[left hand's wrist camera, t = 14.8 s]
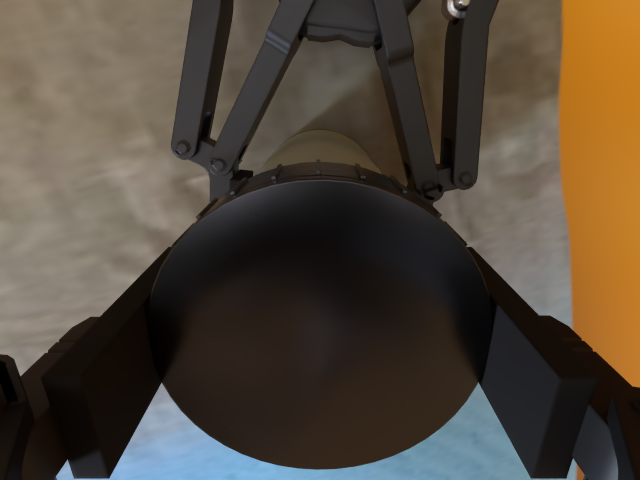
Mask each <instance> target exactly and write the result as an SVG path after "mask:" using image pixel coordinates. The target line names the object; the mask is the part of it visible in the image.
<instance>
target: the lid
mask: <svg viewBox="0 0 640 480" xmlns="http://www.w3.org/2000/svg"><path fill="white" fill-rule="evenodd" d="M441 216H442V215H441V214H440V213H439V212H438V211H437V210H436V209H435V208H434V207H433V206H432V205H431V204H430V203H429V202H428V201H427V200H426V199H425V198H424V197H423V196H421V197H419V196H417V195H416V194H415V193H413V192H412V191H411V190H409V189H408V188H406V187H405V186H404V185H402V184H400V183H399V182H398V180H397V179H396V178H395V177H393V176H391V177H390V178H389V177H387V176H385V175H383V174H380V173H377V172H374V171H372V170H369V169H366V168H362V167H360V165H359V164H358V163H355V166H353V165H349V164H344V163H333V162H321V160H320V159H317V161H316V162H306V163H297V164H292V165H286V166H282V164H278V166H277V167H276V168H274V169H271V170H268V171H265V172H262V173H260V174H257V175H255V176H253V177H251V178H249V179H247V177H245V178H243V179H242V180H241V181H240V182H239V183H238V184H237V186H235V187H234V188H232V189H231V190H229V191H228V192H226V193H225V194H224V195H223V196H221V197H220V198H219V199H217V198H214V199H213V200H212V201H211V202H210V203H209V204H208V205H207V206H206V207H205V208H204V209H203V210H202V211H201V212H200V213H199V214H198V215H197V216H196V218H197V219H198V220H197V221H196V222H195V223H193V224H192V225H191V226H190V227H189V228H188V229H187V230H186V231H185V232H184V233H183V234H182V235H181V236H180V237H179V238H178V239H177V240H176V241H175V242H174V244H173V245H172V246H171V248H172V249H171V251H170V253H169V254H168V256H167V258H166V259H165V261H164V263H163V264H162V266H161V268H160V270H159V273H158V275H157V278H156V280H155V283H154V285H153V288H152V293H151V297H150V301H149V306H148V321H147V329H148V337H149V343H150V348H151V353H152V358H153V363H154V365H155V368H156V370H157V373H158V375H159V378H160V380H161V382H162V384H163V385H164V387H165V389H166V390H167V392H168V394H169V395H170V397H171V398H172V400H173V401H174V402H175V403H176V405H177V406H178V407H179V409H180V410H181V411H182V412H183V413H184V414H185V415H186V416H187V417H188V418H189V419H190V420H191V421H192V422H193V423H194V424H195V425H196V426H198V427H199V428H200V429H201V430H203V431H204V432H205V433H206V434H208V435H209V436H210V437H212V438H214V439H215V440H217V441H218V442H220V443H222V444H223V445H225V446H227V447H229V448H231V449H233V450H235V451H237V452H239V453H241V454H244V455H246V456H249V457H252V458H255V459H257V460H260V461H264V462H268V463H272V464H276V465H280V466H286V467H293V468H301V469H339V468H347V467H355V466H359V465H364V464H368V463H373V462H376V461H379V460H382V459H385V458H388V457H391V456H394V455H396V454H398V453H400V452H403V451H405V450H407V449H409V448H411V447H413V446H415V445H416V444H418V443H420V442H421V441H423V440H425V439H426V438H428V437H429V436H431V435H432V434H433V433H435V432H436V431H437V430H439V429H440V428H441V427H442V426H443V425H445V424H446V423H447V422H448V421H449V420H450V419H451V418H452V417H453V416H454V415H455V414H456V413H457V412H458V411H459V409H460V408H461V407H462V406H463V405H464V403H465V402H466V401H467V399H468V398H469V396H470V395H471V393H472V392H473V390H474V389H475V387H476V385H477V383H478V381H479V379H480V377H481V375H482V373H483V370H484V368H485V365H486V361H487V358H488V354H489V349H490V343H491V338H492V309H491V303H490V297H489V292H488V289H487V286H486V283H485V281H484V278H483V275H482V272H481V270H480V269H479V267H478V265H477V263H476V261H475V259H474V257H473V256H472V254H471V253H470V251H469V250H468V249H467V247H466V246H467V243H466V242H465V241H464V240H463V239H462V238H461V237H460V236H459V235H458V234H457V233H456V232H455V231H454V230H453V229H452V228H451V227H450V226H449V225H448V223H447V222H446V221H445V222H444V221H443V220H442V219H441V218H440V217H441Z"/></svg>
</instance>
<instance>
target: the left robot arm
mask: <svg viewBox="0 0 640 480" xmlns="http://www.w3.org/2000/svg"><path fill="white" fill-rule="evenodd" d="M171 249H172V248H171V247H168V248H167V249H166V250H165V251H164V252H163V253H162V254H161V255H160V256H159V257H158V258H157V259H156V260H155V261H154V262H153V263H152V264H151V265H150V266H149V268H148V269H147V270H146V271H145V272H144V273H143V274H142V275H141V276H140V277H139V278H138V279H137V280H136V281H135V282H134V283H133V284H132V285H131V286H130V287H129V288H128V289H127V290H126V291H125V292H124V293H123V294H122V295H121V296H120V297H119V298H118V299H117V300H116V301H115V302H114V303H113V304H112V305H111V306H110V307H109V308H108V309H107V310H106V311H105V312H104V313H103V314H102V315H101V316H100V317H90V318H88V319H86V320H84V321H83V322H81V323H79V324H77V325H76V326H74V327H72V328H71V329H70V330H69V331H68V332H67V333H66V334H65V335H64V336H63V337H62V338H61V339H60V340H59V342H56V343H55V344H54V345H53V346H52V347H51V348H50V349H49V350H48V353H45V354H44V355H43V356H42V357H41V358H40V359H38V360H37V361H36V362H35V363H34V364H33V365H32V366H31V367H30V368H29V369H28V370H27V371H26V372H25V373H24V374H23V375H22V376H21V377H20V375H19V372H18V369H17V366H16V363H15V361H14V359H13V358H11V357H10V356H8V355H1V354H0V480H57V479H56V475H57V474H58V473H59V471H60V470H61V468H62V467H63V465H64V464H65V462H66V461H67V459H68V461H69V464H70V467H71V470H72V474H73V477H74V478H110V476H111V474H112V472H113V470H114V469H115V467H116V465H117V463H118V461H119V459H120V458H121V456H122V454H123V452H124V450H125V448H126V447H127V445H128V443H129V441H130V439H131V437H132V436H133V434H134V432H135V430H136V428H137V426H138V425H139V423H140V421H141V419H142V417H143V415H144V414H145V412H146V410H147V408H148V406H149V405H150V403H151V401H152V399H153V397H154V395H155V394H156V392H157V390H158V388H159V386H160V384H161V383H162V382H161V380H160V378H159V375H158V373H157V370H156V368H155V365H154V363H153V358H152V353H151V348H150V343H149V337H148V329H147V321H148V306H149V301H150V297H151V293H152V288H153V285H154V283H155V280H156V278H157V275H158V273H159V270H160V268H161V266H162V264H163V263H164V261H165V259H166V258H167V256H168V254H169V253H170V251H171ZM467 249H468V250H469V251H470V253H471V254H472V256H473V257H474V259H475V261H476V263H477V265H478V267H479V269H480V270H481V272H482V275H483V278H484V281H485V283H486V286H487V289H488V292H489V297H490V303H491V309H492V338H491V343H490V349H489V354H488V358H487V361H486V365H485V368H484V370H483V373H482V375H481V377H480V379H479V381H478V382H479V384H480V386H481V388H482V389H483V391H484V393H485V395H486V397H487V399H488V400H489V402H490V404H491V406H492V408H493V410H494V411H495V413H496V415H497V417H498V419H499V421H500V422H501V424H502V426H503V428H504V430H505V432H506V433H507V435H508V437H509V439H510V441H511V443H512V444H513V446H514V448H515V450H516V452H517V454H518V455H519V457H520V459H521V461H522V463H523V464H524V466H525V468H526V470H527V472H528V474H529V475H530V477H531V478H566V477H567V474H568V471H569V468H570V465H571V462H572V459H573V458H574V460H575V461H576V463H577V464H578V466H579V467H580V469H581V470H582V471H583V473H584V474H585V476H584V479H583V480H640V388H638V387H632V386H631V385H630V384H629V383H628V382H627V381H626V380H625V379H624V378H623V377H622V376H621V375H620V374H619V373H618V372H616V371H615V370H614V369H613V368H612V367H611V366H610V365H609V364H608V363H607V362H606V361H605V360H604V359H603V358H602V357H601V356H599V355H598V354H597V353H596V352H593V350H592V348H591V347H590V346H589V345H588V344H587V343H586V342H585V341H582V340H581V338H580V337H579V336H578V335H577V334H576V333H575V332H574V331H573V330H572V329H571V328H570V327H569V326H567V325H565V324H564V323H562V322H560V321H558V320H557V319H555V318H553V317H551V316H539V315H538V314H537V313H536V312H535V311H534V310H533V309H532V308H531V307H530V306H529V305H528V304H527V303H526V302H525V301H524V300H523V299H522V298H521V297H520V296H519V295H518V294H517V293H516V292H515V291H514V290H513V289H512V288H511V287H510V286H509V285H508V284H507V283H506V282H505V281H504V280H503V279H502V277H501V276H500V275H499V274H498V273H497V272H496V271H495V270H494V269H493V268H492V267H491V266H490V265H489V264H488V263H487V262H486V261H485V260H484V259H483V258H482V257H481V256H480V255H479V254H478V253H477V252H476V251H475V250H474V249H473V248H472V247H467Z"/></svg>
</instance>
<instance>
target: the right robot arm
mask: <svg viewBox="0 0 640 480" xmlns="http://www.w3.org/2000/svg"><path fill="white" fill-rule="evenodd" d="M420 1H421V0H279V2H280V4H279V6H278V8H277V10H276V12H275V15H274V17H273V19H272V21H271V23H270V25H269V28H268V30H267V33H266V37H265V40H264V43H263V45H262V47H261V49H260V51H259V53H258V55H257V57H256V60H255V62H254V64H253V66H252V68H251V70H250V72H249V74H248V76H247V79H246V81H245V83H244V85H243V87H242V89H241V91H240V93H239V95H238V98H237V100H236V102H235V104H234V106H233V108H232V110H231V112H230V114H229V117H228V119H227V121H226V123H225V125H224V127H223V129H222V131H221V133H220V136H219V138H218V140H217V141H215V140H213V139H211V138H210V134H211V129H212V123H213V118H214V113H215V107H216V102H217V97H218V91H219V86H220V81H221V75H222V70H223V65H224V59H225V54H226V49H227V43H228V38H229V33H230V27H231V22H232V15H233V3H234V0H193V4H192V10H191V17H190V23H189V30H188V37H187V43H186V50H185V56H184V63H183V69H182V76H181V83H180V89H179V96H178V102H177V109H176V115H175V122H174V129H173V135H172V142H171V149H172V151H173V154H174V155H175V156H176V157H178V158H180V159H184V160H187V159H188V160H190V161H192V162H195V163H197V164H199V165H201V166H202V167H204V168H205V169H206V171H207V172H208V174H209V177H210V202H211V201H212V200H213V199H214V198H217V199H219V198H220V197H221V196H223V195H224V194H225V193H226V192H228V191H229V190H231V189H232V188H234V187H235V186H237V184H238V183H239V182H240V181H241V180H242V179H243V178H245V177H247V179H249V178H251V177H253V171H249V170H239V164H240V162H241V161H242V160H241V159H242V157H243V155H244V153H245V151H246V149H247V147H248V145H249V143H250V141H251V139H252V137H253V135H254V133H255V131H256V129H257V127H258V125H259V123H260V121H261V119H262V117H263V115H264V113H265V111H266V109H267V107H268V105H269V103H270V101H271V99H272V97H273V96H274V94H275V92H276V90H277V88H278V86H279V84H280V82H281V80H282V78H283V76H284V74H285V72H286V70H287V68H288V66H289V64H290V62H291V60H292V58H293V57H294V55H295V54H296V52H297V50H298V48H299V46H300V44H301V42H302V40H303V38H304V37H306V38H308V41H317V42H328V41H333V40H341V41H344V42H346V43H348V44H351V45H353V46H358V47H366V48H369V47H370V46H373V49H374V53H375V57H376V61H377V64H378V66H379V68H380V72H381V76H382V80H383V84H384V88H385V92H386V96H387V100H388V104H389V109H390V113H391V117H392V121H393V125H394V129H395V133H396V137H397V142H398V146H399V150H400V154H401V158H402V162H403V166H404V171H405V175H406V179H407V182H408V184H407V188H408V189H409V190H411V191H412V192H413V193H415V194H416V195H417V196H419V197H421V196H423V197H424V198H425V199H426V200H427V201H428V202H429V203H430V204H431V205H432V206H433V202H435V201H437V200H439V199H440V198H441V197H442V196H443V193H444V192H445V191H449V190H454V189H458V188H459V189H462V190H466V189H469V188H471V187H472V186H473V185H474V184H475V183H476V180H477V174H478V161H479V148H480V135H481V122H482V110H483V97H484V84H485V71H486V58H487V46H488V33H489V24H490V22H491V19H492V17H493V14H494V11H495V9H496V6H497V4H498V1H499V0H442V4H441V11H442V14H443V16H444V17H445V18H446V19H447V20H449V24H448V28H447V33H446V40H445V56H444V80H443V104H442V128H441V152H440V164H436V163H435V158H434V154H433V149H432V144H431V140H430V135H429V130H428V125H427V121H426V116H425V111H424V106H423V102H422V97H421V92H420V87H419V83H418V78H417V73H416V69H415V64H414V58H413V54H414V47H413V41H412V36H411V31H410V27H409V22H408V17H407V16H408V15H409V14H410V13H411V12H412V11H413V9H414V8H415V7H416V6H417V5H418V4H419V2H420Z"/></svg>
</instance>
